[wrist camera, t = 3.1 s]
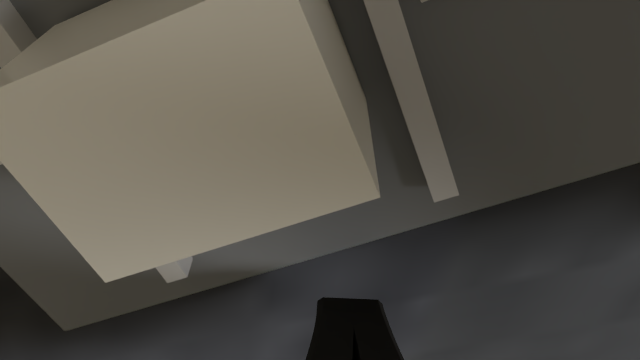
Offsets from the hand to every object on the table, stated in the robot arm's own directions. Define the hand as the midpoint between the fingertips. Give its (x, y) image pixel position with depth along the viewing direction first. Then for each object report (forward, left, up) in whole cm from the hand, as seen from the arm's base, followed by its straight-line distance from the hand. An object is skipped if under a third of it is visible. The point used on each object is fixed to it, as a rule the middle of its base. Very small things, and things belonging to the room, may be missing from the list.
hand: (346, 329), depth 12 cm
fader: (+7, 0, -1) cm, 7 cm away
